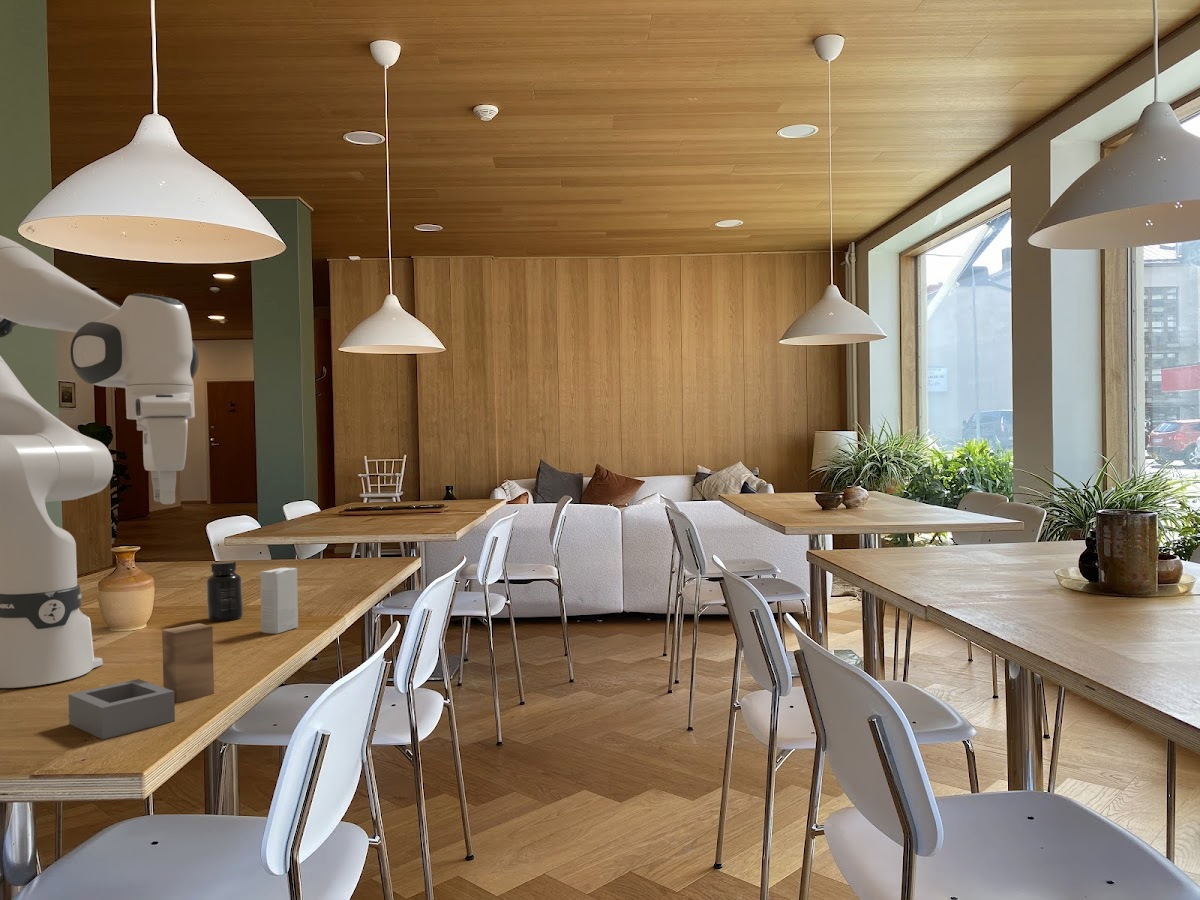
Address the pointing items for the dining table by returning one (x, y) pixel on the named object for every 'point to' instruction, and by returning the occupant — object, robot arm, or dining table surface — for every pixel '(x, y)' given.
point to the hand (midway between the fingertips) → (164, 502)
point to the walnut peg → (188, 661)
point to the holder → (121, 708)
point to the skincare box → (279, 600)
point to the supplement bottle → (224, 592)
